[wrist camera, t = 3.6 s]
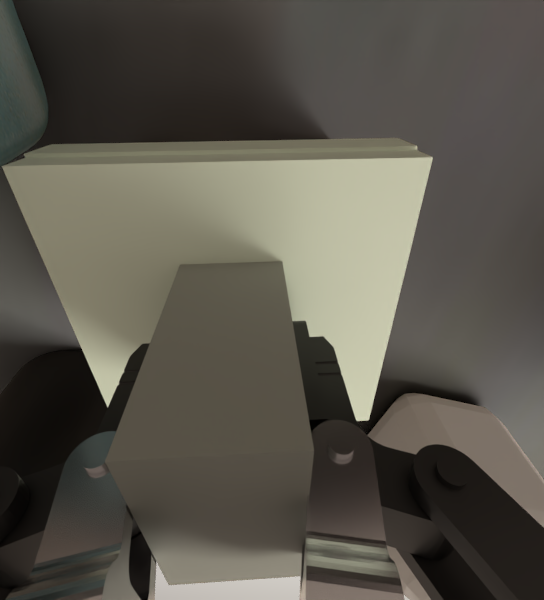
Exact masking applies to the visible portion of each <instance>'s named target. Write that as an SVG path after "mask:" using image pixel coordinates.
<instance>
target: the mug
mask: <svg viewBox="0 0 544 600" xmlns="http://www.w3.org/2000/svg"><path fill="white" fill-rule="evenodd" d="M107 408H108V407H107V405H106V403H105V400H104V398H103V396H102V394H101V391H100V389H99V387H98V385H97V382H96V380H95V378H94V375H93V373H92V371H91V369H90V366H89V364H88V362H87V360H86V357H85V355H84V353H83V351H72V350H70V351H57V352H52V353H48V354H45V355H42V356H39V357H37V358H35V359H33V360H32V361H30V362H28V363H27V364H25V365H24V366H23V367H22V368H21V369H20V370H19V371H18V373H17V374H16V375H15V377H14V378H13V379H12V380H11V382H10V383H9V384H8V385H7V387H6V388H5V389H4V391H3V392H2V393H1V394H0V466H3V467H9V468H11V469H13V470H14V471H15V472H16V473H17V474H18V475H19V477H20V478H21V477H24V476H27V475H30V474H33V473H36V472H39V471H42V470H45V469H48V468H51V467H53V466H56V465H59V464H61V463H64V462H66V460H67V459H68V457H69V455H70V454H71V453H72V451H73V450H74V449H75V448H76V447H77V446H78V445H80V444H81V443H82V442H83V441H85V440H86V439H88V438H90V437H92V436H94V435H96V433H97V431H98V429H99V427H100V424H101V422H102V420H103V418H104V415H105V413H106V411H107Z"/></svg>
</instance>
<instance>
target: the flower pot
mask: <svg viewBox="0 0 544 600" xmlns="http://www.w3.org/2000/svg"><path fill="white" fill-rule="evenodd" d="M47 123H48V103H47V98H46V94H45V89H44V86H43V83H42V80H41V77H40V74H39V71H38V69H37V66H36V63H35V61H34V58H33V55H32V52H31V50H30V47H29V44H28V41H27V39H26V36H25V34H24V31H23V28H22V26H21V23H20V20H19V18H18V15H17V12H16V9H15V7H14V4H13V1H12V0H0V167H1V166H3V165H5V164H6V163H8V162H9V161H11V160H13V159H14V158H16V157H17V156H19V155H20V154H22V153H24V152H25V151H27V150H28V149H29V148H31V147H32V146H33V145H35V144H36V143H37V142H38V141H39V140H40V138H41V137H42V135H43V134H44V132H45V130H46V127H47Z"/></svg>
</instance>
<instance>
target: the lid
mask: <svg viewBox="0 0 544 600" xmlns="http://www.w3.org/2000/svg"><path fill="white" fill-rule="evenodd" d="M417 147H418V146H416V145H414V144H411V143H409V142H406V141H404V140H402V139H399V138H366V139H312V140H257V141H203V142H148V143H94V144H51V145H48V146H45V147H42V148H39V149H36V150H33V151H30V152H27V153H24V156H25V158H23V159H20V160H18V161H15V162H12V163H9V164H7V165H4V166H2V168H3V171H4V173H5V175H6V177H7V180H8V182H9V184H10V186H11V189H12V191H13V193H14V196H15V198H16V200H17V202H18V205H19V207H20V209H21V212H22V214H23V216H24V218H25V221H26V223H27V225H28V227H29V230H30V232H31V234H32V237H33V239H34V241H35V243H36V246H37V248H38V250H39V253H40V255H41V257H42V259H43V262H44V264H45V266H46V268H47V271H48V273H49V275H50V278H51V280H52V282H53V284H54V287H55V289H56V291H57V293H58V296H59V298H60V300H61V303H62V305H63V307H64V309H65V312H66V314H67V316H68V319H69V321H70V323H71V325H72V328H73V330H74V332H75V334H76V337H77V339H78V341H79V344H80V346H81V348H82V350H83V353H84V355H85V357H86V360H87V362H88V364H89V366H90V369H91V371H92V373H93V375H94V378H95V380H96V382H97V385H98V387H99V389H100V391H101V394H102V396H103V398H104V400H105V403H106V405H107V407H108V406H109V404H110V401H111V399H112V397H113V394H114V392H115V390H116V388H117V385H119V381H120V378H121V376H122V374H123V373H124V369H125V367H126V364H127V362H128V360H129V357H130V356H131V355H132V354H133V353H134V352H135V351H136V350H137V349H138V348H139V347H140V346H141V345H142V344H145V343H150V344H149V347H148V350H147V352H146V355H145V358H144V360H143V363H142V365H141V368H140V371H139V373H138V376H137V379H136V381H135V384H134V386H133V389H132V392H131V394H130V397H129V400H128V402H127V405H126V407H125V410H124V413H123V415H122V418H121V421H120V423H119V426H118V428H117V431H116V434H115V436H114V439H113V442H112V444H111V447H110V450H109V452H108V455H107V457H106V460H105V463H106V465H107V467H108V469H109V471H110V473H111V475H112V477H113V478H114V480H115V482H116V484H117V486H118V488H119V490H120V492H121V494H122V496H123V498H124V500H125V502H126V503H127V505H128V507H129V509H130V511H131V513H132V515H133V517H134V519H135V521H136V523H137V525H138V527H139V529H140V530H141V532H142V534H143V536H144V538H145V540H146V542H147V544H148V546H149V548H150V550H151V552H152V554H153V555H154V557H155V559H156V561H157V563H158V565H159V567H160V569H161V571H162V573H163V575H164V577H165V579H166V581H167V582H168V584H169V585H177V584H191V583H207V582H221V581H236V580H250V579H265V578H279V577H294V576H301V554H302V544H304V541H305V524H306V504H307V495H309V494H310V485H311V476H312V466H313V457H314V446H313V441H312V435H311V429H310V423H309V417H308V411H307V405H306V399H305V393H304V387H303V381H302V375H301V369H300V363H299V357H298V351H297V346H296V340H295V334H294V328H293V322H292V321H306V323H307V328H308V332H309V337H320V336H324V337H325V339H326V340H327V341H328V342H329V343H330V344H331V345H332V346H333V347H334V350H335V353H336V357H337V360H338V364H339V366H340V370H341V375H342V376H343V380H344V383H345V386H346V389H347V393H348V396H349V399H350V402H351V406H352V409H353V412H354V416H355V419H356V421H368V420H369V418H370V414H371V410H372V405H373V401H374V397H375V393H376V389H377V385H378V381H379V377H380V373H381V369H382V364H383V360H384V356H385V352H386V348H387V344H388V340H389V336H390V332H391V328H392V324H393V319H394V315H395V311H396V307H397V303H398V299H399V295H400V291H401V287H402V283H403V278H404V274H405V270H406V266H407V262H408V258H409V254H410V250H411V246H412V242H413V238H414V233H415V229H416V225H417V221H418V217H419V213H420V209H421V205H422V201H423V197H424V192H425V188H426V184H427V180H428V176H429V172H430V168H431V164H432V160H433V157H431V156H429V155H427V154H424V153H422V152H420V151H418V150H417Z"/></svg>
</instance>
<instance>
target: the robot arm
mask: <svg viewBox="0 0 544 600" xmlns="http://www.w3.org/2000/svg"><path fill="white" fill-rule="evenodd" d="M292 322H293V328H294V334H295V340H296V346H297V351H298V357H299V363H300V369H301V375H302V381H303V387H304V393H305V399H306V405H307V411H308V417H309V423H310V429H311V435H312V441H313V446H314V457H313V466H312V476H311V485H310V494H309V495H307V504H306V524H305V541H304V544H302V554H301V581H300V600H404V595H403V589H402V584H401V580H400V576H399V572H398V569H397V566H396V564H395V562H394V561H393V560H392V559H391V558H390V556H389V553H388V549H387V546H390V547H393V548H396V550H397V551H398V553H399V554H400V555H401V557H402V558H403V560H404V561H405V563H406V564H407V566H408V567H409V568H410V570H411V571H412V573H413V574H414V576H415V577H416V578H417V580H418V581H419V583H420V584H421V586H422V587H423V589H424V590H425V591H426V593H427V594H428V596H429V597H430V599H431V600H544V527H543V526H542V525H540V524H539V523H538V522H537V521H536V520H535V519H534V518H533V517H532V516H531V515H530V514H529V513H528V512H527V511H526V510H525V509H524V508H523V507H521V506H520V505H519V504H518V503H517V502H516V501H515V500H514V499H513V498H512V497H511V496H510V495H509V494H508V493H507V492H506V491H505V490H503V489H502V488H501V487H500V486H499V485H498V484H497V483H496V482H495V481H494V480H493V479H492V478H491V477H490V476H489V475H488V474H487V473H485V472H484V471H483V470H482V469H481V468H480V467H479V466H478V465H477V464H476V463H475V462H474V461H473V460H472V459H470V458H469V457H468V456H467V455H465V454H464V453H462V452H461V451H459V450H457V449H455V448H452V447H450V446H446V445H440V444H432V445H428V446H425V447H423V448H422V449H420V450H419V451H418V453H417V454H412V453H408V452H404V451H400V450H397V449H393V448H389V447H386V446H383V445H381V444H379V443H377V442H375V441H374V440H372V439H371V438H370V437H368V436H367V435H366V434H365V433H364V432H363V431H362V429H361V428H360V427H359V425H358V423H357V421H356V419H355V416H354V412H353V409H352V406H351V402H350V399H349V396H348V393H347V389H346V386H345V383H344V380H343V376H342V375H341V370H340V366H339V364H338V360H337V357H336V353H335V350H334V347H333V346H332V345H331V344H330V343H329V342H328V341H327V340H326V339H325V337H324V336H320V337H309V332H308V328H307V323H306V321H292ZM149 344H150V343H145V344H142V345H141V346H140V347H139V348H138V349H137V350H136V351H135V352H134V353H133V354H132V355H131V356H130V357H129V360H128V362H127V364H126V367H125V369H124V373H123V374H122V376H121V378H120V381H119V385H117V388H116V390H115V392H114V394H113V397H112V399H111V401H110V404H109V406H108V408H107V411H106V413H105V415H104V418H103V420H102V422H101V424H100V427H99V429H98V431H97V433H96V435H94V436H92V437H90V438H88V439H86V440H85V441H83V442H82V443H81V444H80V445H78V446H77V447H76V448H75V449H74V450H73V451H72V453H71V454H70V455H69V457H68V459H67V460H66V462H64V463H61V464H59V465H56V466H53V467H51V468H48V469H45V470H42V471H39V472H36V473H33V474H30V475H27V476H24V477H21V478H20V477H19V475H18V474H17V473H16V472H15V471H14V470H13V469H11V468H9V467H3V466H0V600H154V596H155V575H156V559H155V557H154V555H153V554H152V552H151V550H150V548H149V546H148V544H147V542H146V540H145V538H144V536H143V534H142V532H141V530H140V529H139V527H138V525H137V523H136V521H135V519H134V517H133V515H132V513H131V511H130V509H129V507H128V505H127V503H126V502H125V500H124V498H123V496H122V494H121V492H120V490H119V488H118V486H117V484H116V482H115V480H114V478H113V477H112V475H111V473H110V471H109V469H108V467H107V465H106V463H105V460H106V457H107V455H108V452H109V450H110V447H111V444H112V442H113V439H114V436H115V434H116V431H117V428H118V426H119V423H120V421H121V418H122V415H123V413H124V410H125V407H126V405H127V402H128V400H129V397H130V394H131V392H132V389H133V386H134V384H135V381H136V379H137V376H138V373H139V371H140V368H141V365H142V363H143V360H144V358H145V355H146V352H147V350H148V347H149Z"/></svg>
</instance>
